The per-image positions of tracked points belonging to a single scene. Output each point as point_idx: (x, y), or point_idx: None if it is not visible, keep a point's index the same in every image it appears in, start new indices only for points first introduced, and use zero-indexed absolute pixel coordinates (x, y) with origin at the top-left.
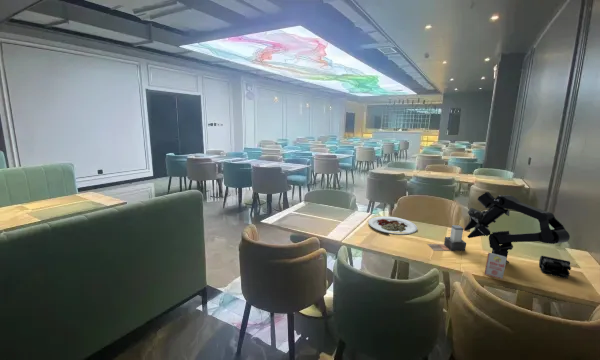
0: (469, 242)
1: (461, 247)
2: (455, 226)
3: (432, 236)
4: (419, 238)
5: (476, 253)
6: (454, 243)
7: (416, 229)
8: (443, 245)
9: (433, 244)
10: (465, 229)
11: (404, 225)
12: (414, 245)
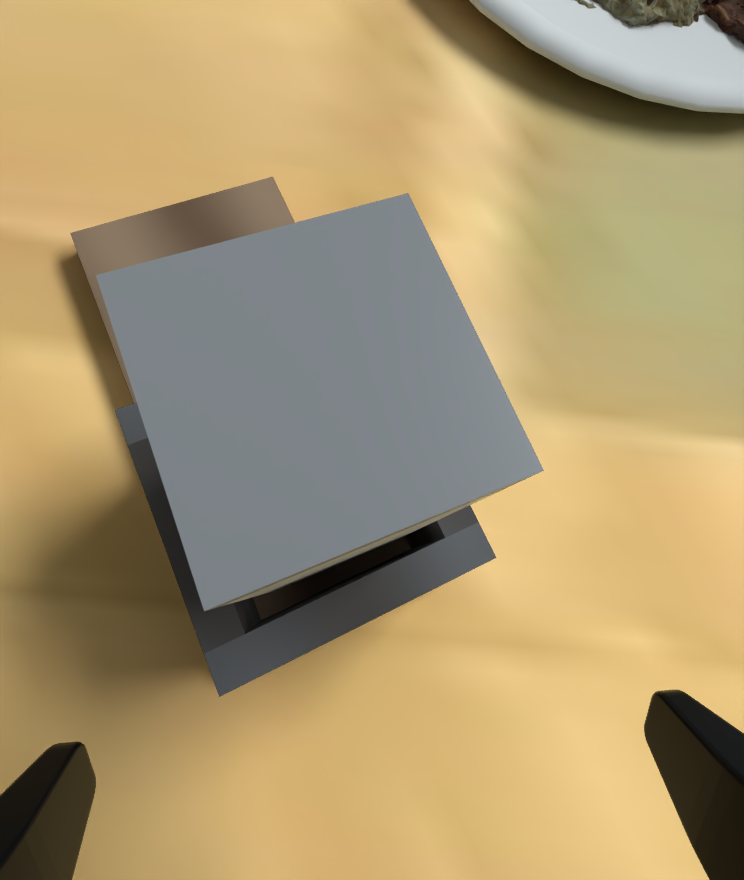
0: None
1: None
2: (301, 292)
3: (619, 281)
4: (464, 139)
5: (300, 856)
6: (135, 455)
7: (675, 95)
8: None
9: None
10: (661, 727)
11: (742, 14)
12: (216, 74)
